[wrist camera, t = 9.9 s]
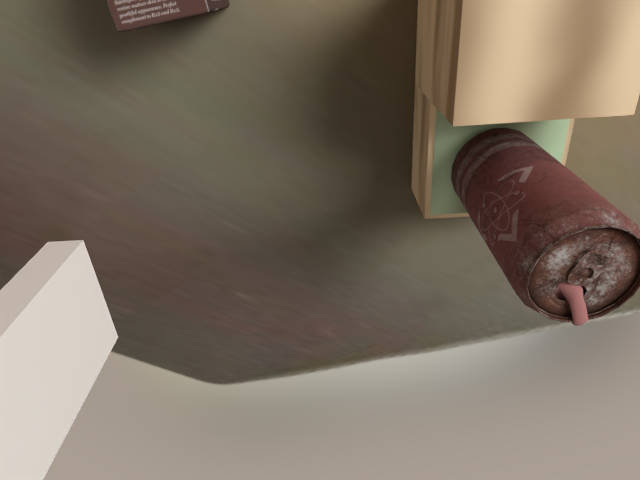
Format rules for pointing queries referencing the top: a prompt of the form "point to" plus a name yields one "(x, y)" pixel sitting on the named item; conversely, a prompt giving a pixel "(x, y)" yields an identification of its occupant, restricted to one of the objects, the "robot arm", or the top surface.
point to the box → (158, 11)
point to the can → (547, 227)
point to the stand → (515, 78)
